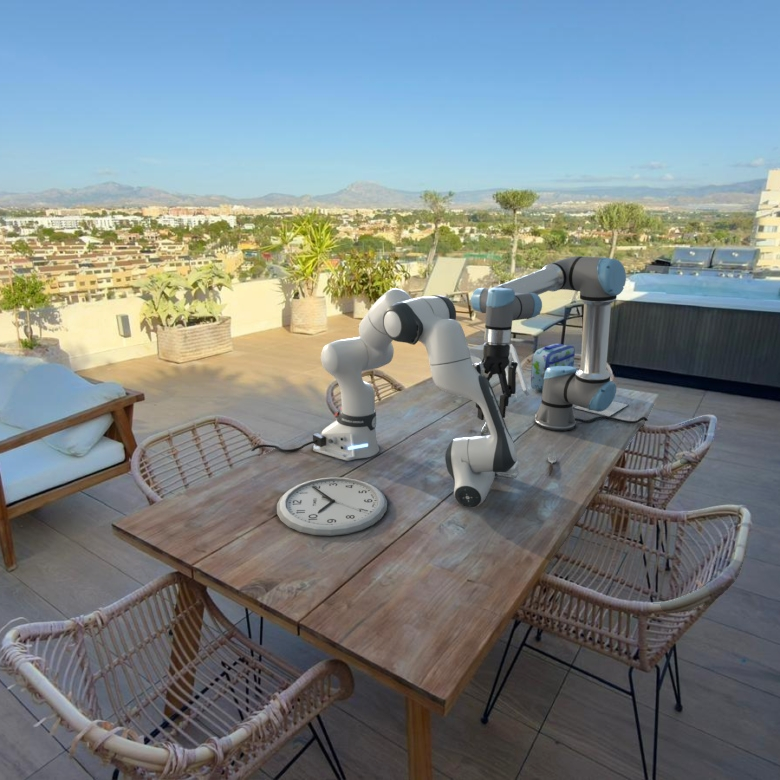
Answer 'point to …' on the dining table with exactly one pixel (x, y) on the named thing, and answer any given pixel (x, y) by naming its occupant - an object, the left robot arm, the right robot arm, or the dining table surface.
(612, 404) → the invitation card
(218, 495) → the dining table surface
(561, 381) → the right robot arm
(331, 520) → the wall clock
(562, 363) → the lunch box
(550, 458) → the fork
